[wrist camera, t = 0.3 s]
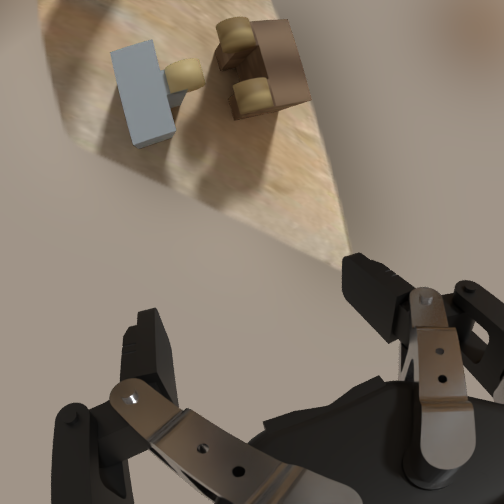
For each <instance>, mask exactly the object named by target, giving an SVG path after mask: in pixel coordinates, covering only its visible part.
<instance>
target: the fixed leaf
mask: <svg viewBox="0 0 504 504" xmlns="http://www.w3.org/2000/svg"><path fill="white" fill-rule="evenodd" d="M216 30H217V33H218V37H219V40H220V44H219V45H218V47H217V48H216V50H215V53H216V57H217V60H218V64H219V67H220V71H222V70H227V69H233V68H236V69H237V73H238V76H239V80H240V82H239V83H237V84H235V85H233V90H234V93H235V94H234V95H232V96H231V97H230V98H229V99H228V100H229V103H230V107H231V111H232V114H233V118H234V120H238V119H243V118H247V117H251V116H256V115H261V114H265V113H270V112H275V111H280V110H283V109H286V108H289V107H292V106H295V105H298V104H301V103H304V102H307V101H311V100H312V99H311V95H310V92H309V88H308V84H307V81H306V77H305V74H304V70H303V66H302V63H301V60H300V56H299V53H298V50H297V46H296V43H295V40H294V37H293V34H292V31H291V28H290V25H289V22H288V19H280V20H263V21H252V22H249V19H248V18H246V17H234V18H229V19H226V20H224V21H222V22H220V23H218V24H217V25H216Z"/></svg>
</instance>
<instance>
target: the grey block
mask: <svg viewBox="0 0 504 504" xmlns="http://www.w3.org/2000/svg"><path fill="white" fill-rule="evenodd" d="M110 54H111V59H112V63H113V68H114V72H115V77H116V81H117V85H118V89H119V94H120V98H121V102H122V106H123V110H124V113H125V117H126V121H127V125H128V128H129V132H130V136H131V139H132V143H133V145H134V146H135V147H137V148H138V149H140V148H143V147H146V146H149V145H152V144H155V143H158V142H161V141H164V140H167V139H170V138H172V137H173V135H174V134H175V132H176V128H175V124H174V121H173V117H172V113H171V110H170V108H173V107H177V106H180V105H181V103H182V101H183V99H184V97H185V95H186V93H187V92H191V91H194V90H196V89H199V88H201V87H203V86H205V85H206V83H205V80H204V76H203V72H202V69H201V65H200V61H199V59H195V58H192V59H185V60H181V61H178V62H175V63H173V64H170V65H169V66H167V67H166V68H165V69H164V70H162V71H160V68H159V64H158V60H157V56H156V52H155V48H154V44H153V40H148V41H145V42H141V43H138V44H134V45H131V46H128V47H125V48H122V49H119V50H116V51H113V52H110Z"/></svg>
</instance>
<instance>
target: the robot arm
mask: <svg viewBox="0 0 504 504" xmlns="http://www.w3.org/2000/svg"><path fill="white" fill-rule="evenodd" d="M342 292H343V295H344V297H345V299H346V300H347V301H348V302H349V303H350V304H351V305H352V306H353V307H354V308H355V310H356V311H357V312H358V313H359V314H361V316H362V317H363V318H364V319H365V320H366V321H367V322H368V323H369V324H370V325H371V326H372V327H373V328H374V329H375V330H376V331H377V332H378V333H379V334H380V335H381V337H382V338H383V339H384V340H385V341H386V342H387V343H388V344H389V343H391V342H393V341H395V340H397V339H399V340H400V345H399V373H398V381H389V382H384V381H383V380H382V378H381V377H380V376H376V377H374V378H372V379H370V380H368V381H366V382H364V383H361V384H359V385H357V386H355V387H353V388H352V389H350V390H349V391H348V392H347V393H345V394H344V395H343V396H341V397H340V398H338V399H337V400H336V401H335V402H333V403H332V404H330V405H328V406H323V407H318V408H312V409H305V410H298V411H293V412H290V413H288V414H284V415H282V416H278V417H276V418H272V419H269V420H266V421H263V425H264V429H265V430H264V431H263V432H261V433H259V434H258V435H257V436H255V437H254V438H252V439H251V440H250V441H249V442H248V443H245V442H243V441H241V440H240V439H238V438H236V437H234V436H233V435H231V434H229V433H227V432H226V431H224V430H222V429H221V428H219V427H218V426H216V425H215V424H213V423H211V422H210V421H208V420H207V419H205V418H204V417H202V416H201V415H199V414H198V413H196V412H194V411H193V410H191V409H188V408H186V409H185V410H184V411H183V410H181V409H180V408H179V404H178V398H177V391H176V383H175V375H174V367H173V358H172V350H171V346H170V342H169V339H168V336H167V333H166V331H165V329H164V326H163V323H162V321H161V318H160V316H159V313H158V311H157V309H156V308H152V309H148V310H144V311H140V312H138V317H137V325H135V326H131V327H129V328H128V329H127V331H126V333H125V335H124V336H123V348H122V357H121V370H120V383H118V384H117V385H116V386H115V387H114V388H113V389H112V391H111V393H110V397H109V400H108V401H107V402H105V403H103V404H101V405H98V406H96V407H94V408H92V409H88V408H87V407H86V406H85V405H83V404H81V403H71V404H68V405H66V406H65V407H63V408H62V409H61V410H60V411H59V413H58V414H57V416H56V419H55V428H54V439H53V450H52V470H51V472H52V473H51V504H134V499H133V493H132V487H131V480H130V473H129V466H128V458H130V457H133V456H135V455H137V454H139V453H142V452H144V451H146V450H149V451H150V452H151V453H153V454H154V455H155V456H156V457H157V458H158V459H159V460H160V461H162V462H163V463H164V464H165V465H166V466H168V467H169V468H170V469H171V470H172V471H174V472H175V473H176V474H177V475H179V476H180V477H181V478H182V479H183V480H185V481H186V482H187V483H188V484H189V485H190V486H192V487H193V488H194V489H195V490H197V491H198V492H199V493H201V494H202V495H204V496H205V497H206V498H208V499H209V500H211V501H212V502H213V503H214V504H504V303H503V302H501V301H500V300H499V299H497V298H496V297H495V296H494V295H492V294H491V293H490V292H488V291H487V290H485V289H484V288H483V287H482V286H480V285H479V284H477V283H475V282H473V281H468V280H463V281H459V282H458V283H457V284H456V285H455V289H454V293H451V294H445V295H441V294H440V293H438V292H437V291H436V290H434V289H432V288H428V287H419V288H414V287H413V286H412V285H411V284H409V283H408V282H407V281H405V280H404V279H403V278H401V277H400V276H399V275H396V273H394V272H393V271H392V270H390V269H389V268H388V267H386V266H385V265H384V264H382V263H379V262H376V261H374V260H370V259H368V258H367V257H366V256H364V255H363V254H362V253H355V254H352V255H349V256H345V257H344V258H343V260H342ZM475 321H476V322H477V323H478V324H480V326H482V327H483V328H484V329H485V330H486V331H487V332H488V335H489V343H488V345H487V344H486V343H485V342H483V341H482V340H481V339H480V338H479V337H478V336H477V335H476V334H475V333H474V332H473V331H472V329H473V326H474V323H475ZM463 365H464V366H465V367H466V368H467V370H468V371H469V372H470V373H471V374H472V375H473V376H474V377H475V378H476V379H477V380H478V382H479V383H480V384H481V385H482V386H483V387H484V388H485V389H486V390H487V391H488V393H489V394H490V395H491V396H492V397H493V399H494V402H491V401H486V400H482V399H478V398H473V397H469V396H467V389H466V382H465V374H464V368H463Z"/></svg>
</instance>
